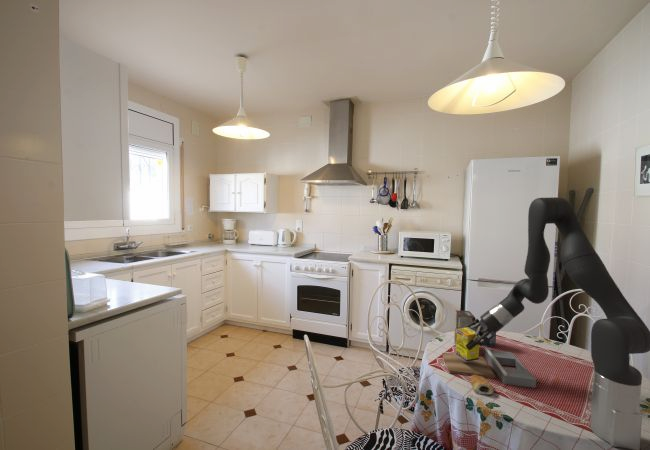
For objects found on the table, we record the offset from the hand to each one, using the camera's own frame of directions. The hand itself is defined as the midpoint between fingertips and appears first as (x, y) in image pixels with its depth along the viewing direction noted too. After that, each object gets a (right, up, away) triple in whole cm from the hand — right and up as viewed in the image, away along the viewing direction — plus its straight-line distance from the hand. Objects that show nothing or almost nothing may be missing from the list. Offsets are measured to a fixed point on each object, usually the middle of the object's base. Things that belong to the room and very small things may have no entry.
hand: (464, 343), depth 115 cm
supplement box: (+1, -6, 0) cm, 6 cm away
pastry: (-1, -10, -14) cm, 18 cm away
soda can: (+20, -9, +20) cm, 30 cm away
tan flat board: (+1, -9, 0) cm, 9 cm away
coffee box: (+7, -9, +15) cm, 19 cm away
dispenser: (+16, -10, -3) cm, 19 cm away
